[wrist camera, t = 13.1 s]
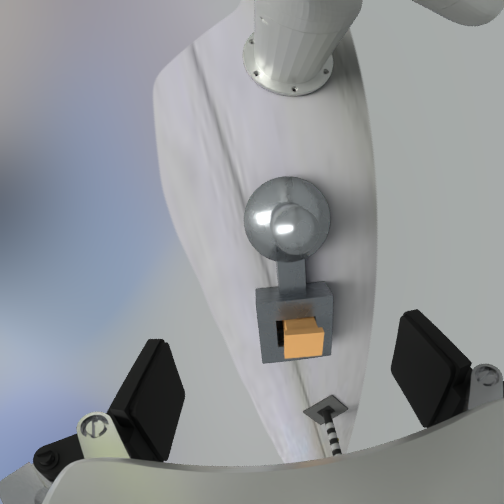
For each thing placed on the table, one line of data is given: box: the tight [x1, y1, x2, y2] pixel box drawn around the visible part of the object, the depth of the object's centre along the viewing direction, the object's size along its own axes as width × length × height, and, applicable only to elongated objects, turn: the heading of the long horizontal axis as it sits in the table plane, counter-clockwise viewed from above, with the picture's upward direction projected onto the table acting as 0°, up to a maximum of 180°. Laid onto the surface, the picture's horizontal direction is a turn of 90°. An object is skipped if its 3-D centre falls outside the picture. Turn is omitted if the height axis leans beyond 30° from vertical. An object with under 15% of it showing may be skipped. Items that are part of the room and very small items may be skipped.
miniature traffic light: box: [303, 395, 348, 456], centre depth 32 cm, size 8×8×30 cm
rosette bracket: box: [244, 177, 333, 364], centre depth 34 cm, size 26×11×10 cm, turn 6°
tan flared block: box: [282, 317, 324, 359], centre depth 36 cm, size 4×5×9 cm
